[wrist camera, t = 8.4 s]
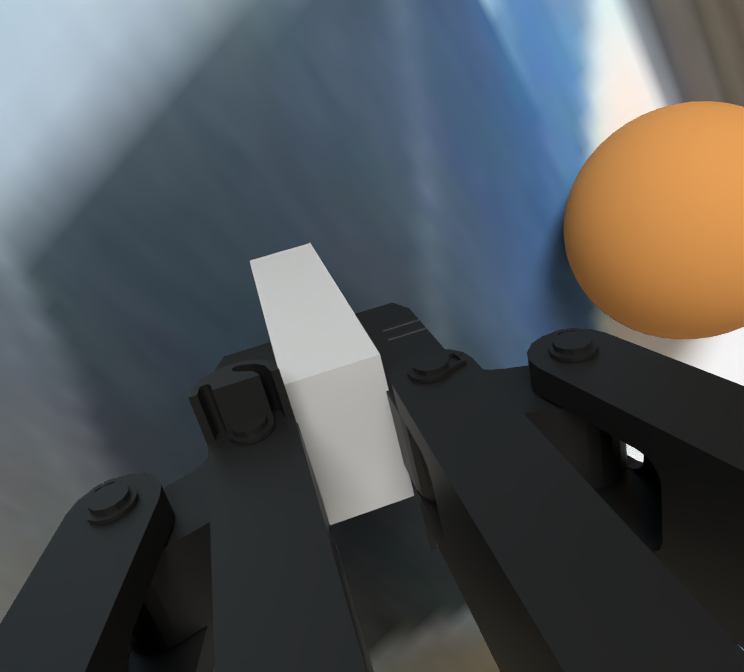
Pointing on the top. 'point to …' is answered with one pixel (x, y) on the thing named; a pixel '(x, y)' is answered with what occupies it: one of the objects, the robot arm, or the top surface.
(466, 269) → the top surface
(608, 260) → the orange ball
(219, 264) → the top surface
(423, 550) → the top surface
